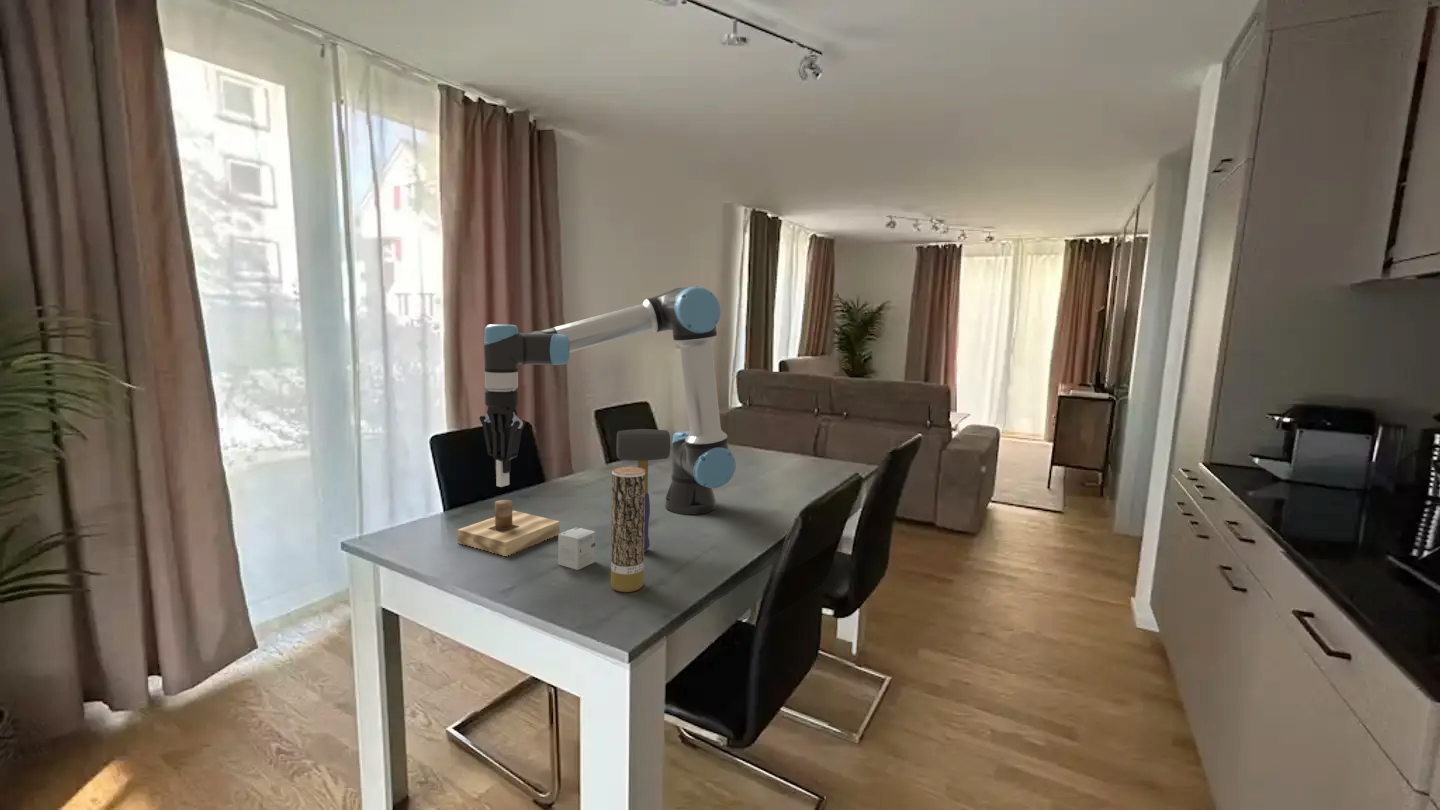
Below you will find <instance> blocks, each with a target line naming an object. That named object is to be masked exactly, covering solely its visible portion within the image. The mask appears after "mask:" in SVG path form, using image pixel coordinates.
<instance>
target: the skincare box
mask: <svg viewBox="0 0 1440 810" xmlns="http://www.w3.org/2000/svg"><path fill="white" fill-rule="evenodd" d="M557 537H558V538H557V543H558V545H557V548H558V549H557V559H558V560H557V561H558V562H557V564H558V565H559V566H562V567H566V568H569V569H572V570H576V571H579V570H581V569H583V568H586V567H587V566H589V565H592V564H594V563H595V562H596V531H594V530H591V529H590V530H589V529H585V528H582V527H579V526H576V527H574V528H571V529H567V530H565V531H563V532H560V534H558V535H557Z"/></svg>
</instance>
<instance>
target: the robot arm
mask: <svg viewBox="0 0 1440 810" xmlns="http://www.w3.org/2000/svg"><path fill="white" fill-rule="evenodd" d="M721 314H722V309H721V304H720V301H719V300H718V298H717V296H716V295H715V294H714V293H713V292H712V291H710V290H709V289H707V288H705V287H700V286H691V285H690V286H688V287H687V286H686V287H677V288H673V289H671V290H668V291H666V292H664V293H660V294H658V295H656V296H653V297H649V298H645V299H644V300H643V302H642V303H641V304H637V305H633V306H629V307H625V308H623V309H618V310H614V311H610V312H607V313H603V314H599V315H595V316H592V317H587V318H585V319H580V320H577V321H573V322H568V323H564V324H561V325H558V326H554V327H550V328H546V329H542V330H534V331H531V332H528V333H525V332H524V333H522V332H519V328H518V326H517V325H515V324H495V323H494V324H493V323H491V324H487V325H486V327H485V328H484V339H483V341H484V342H483V347H484V348H483V351H484V352H483V353H484V355H483V356H484V388H485V389H487V390H485V392H484V403H485V405H486V406H487V410H486V413H485V414H484V415H480V416H479V421H480V423H481V425H482V429H483V434H484V440H485V446H486V451H487V455H488V456H491V457H492V458H493V459H494V470H495V475H496V476H495V479H496V483H495V484H496V487H499V488H503V487H506V486H509V485H510V473H511V467H512V466H511V465H512V463H511V462H512V461H511V460H512V459H515V458H517V457H518V454H519V450H520V443H521V439H522V438H521V437H522V433H523V428H524V427H525V425H526V420H524V419H520V418H519V417H518V411H517V406H518V405H519V391H518V390H517V388H519V365H522V366H523V365H534V366H535V365H536V366H537V365H538V366H539V365H540V366H541V365H542V366H543V365H544V366H546V365H547V366H548V365H550V366H552V365H553V366H559V365H560V366H561V365H562V366H563V365H567V364H568V363H569V360H570V354H571V353H573V352H576V351H579V350H584V349H588V348H591V347H595V346H598V345H602V344H606V343H610V342H614V341H616V340H621V339H624V338H628V337H631V336H635V335H639V334H642V333H646V332H649V331H650V332H652V333H654V334H657V333H659V332H664V331H672V337H673V339H672V340H673V342H675V343H676V344H677V345H678V346H679V349H680V357H681V366H682V375H683V384H684V392H685V400H686V401H685V402H686V403H685V404H686V411H687V418H688V429H689V430H687V431H686V430H685V431H677V432H675V433H673V435H672V441H671V446H672V447H671V481H670V485H669V487H668V490H667V493H666V496H665V500H664V501H665V502H664V507H665V509H666V510H668V511H670V512H672V513H677V514H684V515H702V514H707V513H710V512H713V511H714V510H715V509H716V505H717V504H716V503H717V501H716V497H715V494H714V493H715V492H714V489H717V488H721V487H723V486H725V485H726V484H728V483H729V482H730V481H731V479H732V478H733V476H734V475H735V472H736V468H737V463H736V462H737V461H736V457H735V456H734V453H732V451H731V450H729V440H728V434H727V433H726V432H724V431H723V430H722V428H721V427H722V426H721V417H720V408H719V399H718V397H719V396H718V389H717V379H716V377H717V376H716V370H715V359H714V350H713V343H714V341H715V340H716V339H717V337H718V333H717V324H718V323H719V321H720V319H721Z"/></svg>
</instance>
